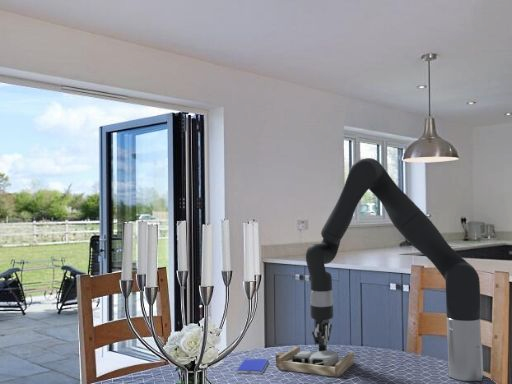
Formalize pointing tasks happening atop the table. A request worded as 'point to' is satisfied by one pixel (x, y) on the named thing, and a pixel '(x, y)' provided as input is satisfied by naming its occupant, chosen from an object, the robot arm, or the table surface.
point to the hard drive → (253, 366)
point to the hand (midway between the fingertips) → (322, 355)
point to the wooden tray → (311, 368)
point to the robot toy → (317, 358)
